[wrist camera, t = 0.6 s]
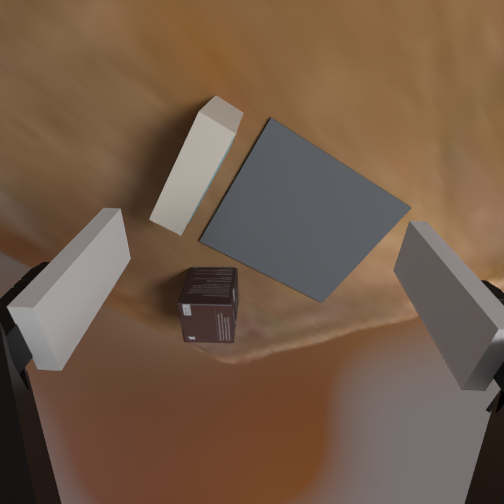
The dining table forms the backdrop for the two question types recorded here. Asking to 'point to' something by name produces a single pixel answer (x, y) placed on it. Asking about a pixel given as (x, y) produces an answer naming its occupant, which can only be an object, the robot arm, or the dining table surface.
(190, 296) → the box
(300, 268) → the mat
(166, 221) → the light grey flat block
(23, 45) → the dining table surface
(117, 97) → the dining table surface
